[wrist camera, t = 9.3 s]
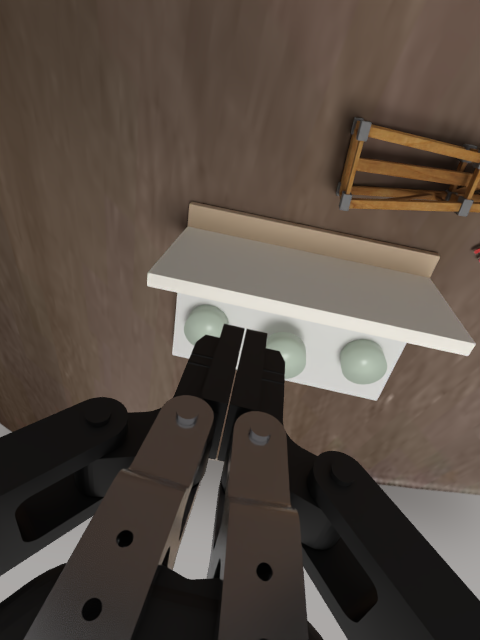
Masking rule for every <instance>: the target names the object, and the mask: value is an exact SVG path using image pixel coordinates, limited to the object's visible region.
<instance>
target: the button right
mask: <svg viewBox="0 0 480 640" xmlns="http://www.w3.org/2000/svg"><path fill="white" fill-rule="evenodd" d="M340 362H341V369H342V373H343V375H344V377H345V378H346V379H347V380H349V381H351V382H353V383H356V384H362V385H363V384H371V383H374V382H376V381H378V380H380V379H381V378H382V377H383V376H384V375H385V373H386V371H387V362H386V359H385V356H384V353H383V350H382V348H381V347H380V346H379V345H378V344H377V343H375V342H373V341H370V340H356V341H353V342H351V343H349V344H347V345H346V346H345V347H344V348H343V349H342V351H341V354H340Z"/></svg>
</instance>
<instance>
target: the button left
mask: <svg viewBox="0 0 480 640" xmlns="http://www.w3.org/2000/svg"><path fill="white" fill-rule="evenodd" d="M224 324H229V321H228V318H227V316H226V315H225V313H224V312H223V311H222V310H220V309H219V308H217V307H215V306H211V305H201V306H198V307H196V308H195V309H193V310H192V311H191V313H190V315H189V317H188V319H187V321H186V323H185V325H184V334H185V336H186V338H187V340H188V341H189V342H190V343H191V344H192V345H195V343H196V342H197V341H198V340H199V339H200V338H202V337H203V336H204V335H210V336H215V337H219V338H220V335H221V332H222V329H223V325H224Z"/></svg>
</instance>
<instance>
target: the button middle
mask: <svg viewBox="0 0 480 640" xmlns="http://www.w3.org/2000/svg"><path fill="white" fill-rule="evenodd" d="M266 348H268V349H272V350H277V351H280V353H281V355H282V357H283V359H284V361H285V375H284V376H285V379H289V378H293V377H295V376H297V375H299V374H300V373H301V372H302V371H303V370H304V368H305V366H306V347H305V344H304V342H303V341H302V340H301V339H300V338H299V337H298V336H296V335H294V334H292V333H288V332H279V333H275V334H272V335H271V336H269V337H268V338H267V343H266Z"/></svg>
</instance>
